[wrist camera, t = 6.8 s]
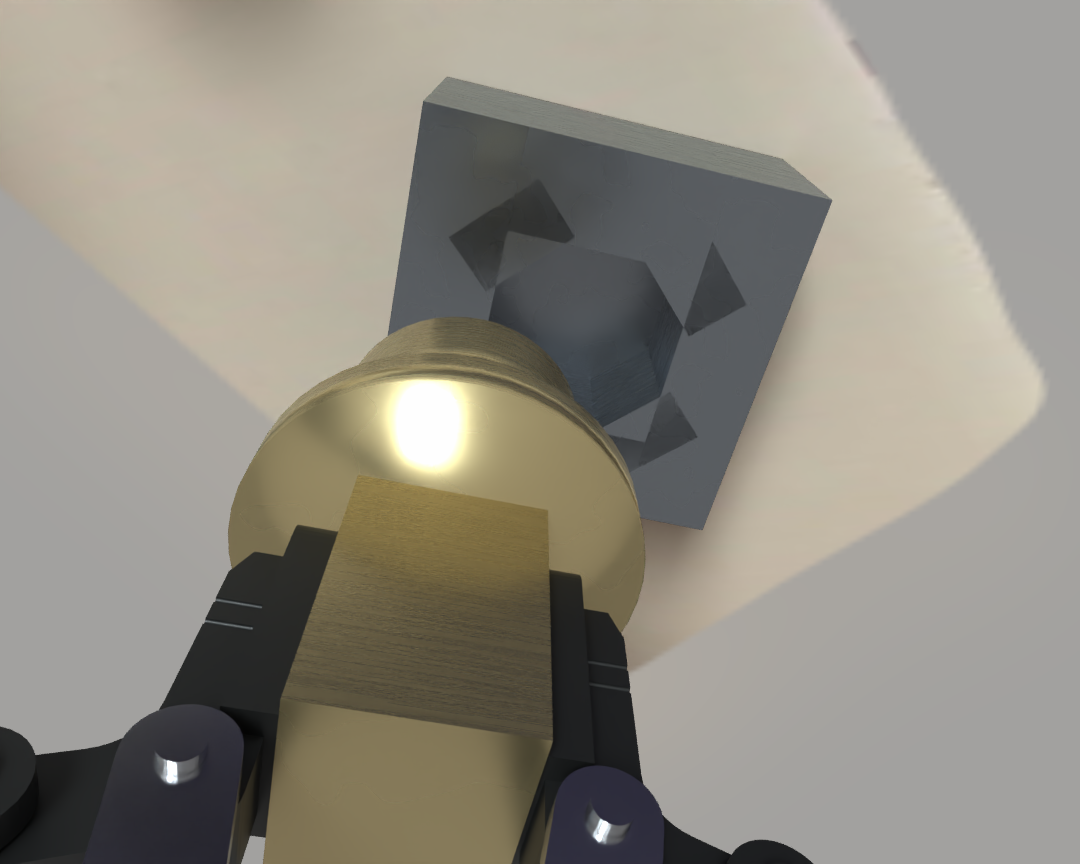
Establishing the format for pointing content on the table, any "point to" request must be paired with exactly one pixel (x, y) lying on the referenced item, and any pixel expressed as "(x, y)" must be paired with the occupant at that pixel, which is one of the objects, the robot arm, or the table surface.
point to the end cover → (432, 590)
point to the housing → (613, 268)
